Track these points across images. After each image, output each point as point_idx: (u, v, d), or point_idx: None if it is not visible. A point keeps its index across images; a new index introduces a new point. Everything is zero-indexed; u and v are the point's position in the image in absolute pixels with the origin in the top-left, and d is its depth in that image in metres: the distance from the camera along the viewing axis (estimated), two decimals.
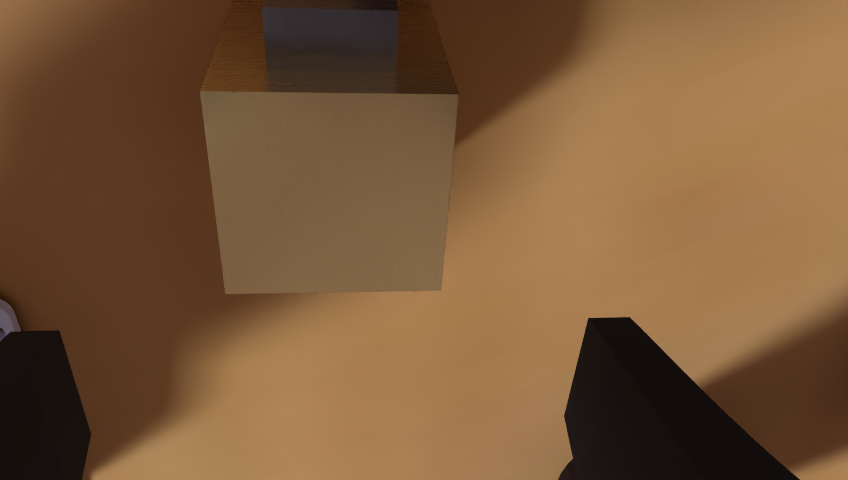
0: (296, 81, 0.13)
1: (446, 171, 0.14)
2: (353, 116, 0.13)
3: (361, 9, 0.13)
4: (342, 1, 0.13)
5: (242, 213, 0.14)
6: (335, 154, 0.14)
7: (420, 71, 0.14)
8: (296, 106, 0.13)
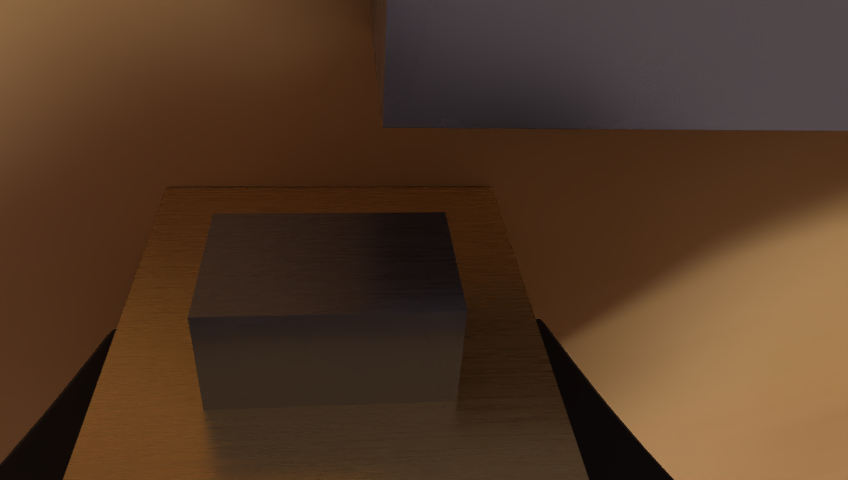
0: (261, 454, 0.07)
1: None
2: None
3: (392, 310, 0.06)
4: (353, 282, 0.07)
5: None
6: None
7: (502, 397, 0.07)
8: None
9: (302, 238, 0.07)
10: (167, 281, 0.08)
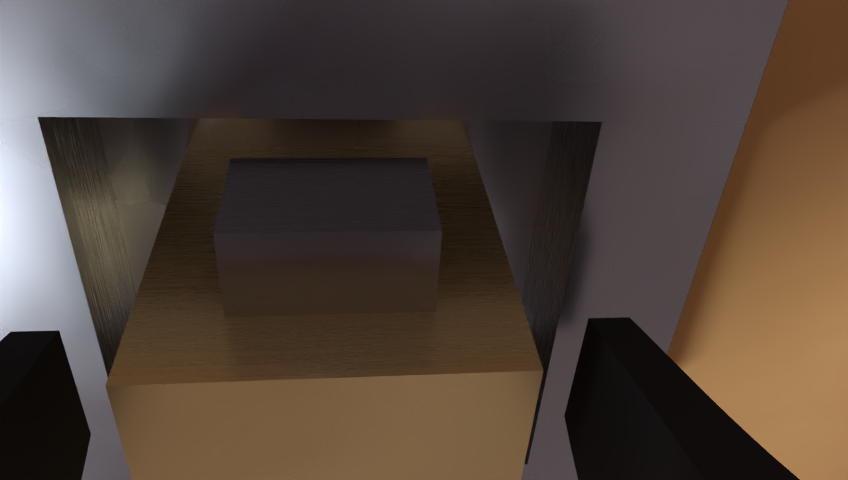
0: (272, 349, 0.08)
1: (515, 464, 0.09)
2: (367, 406, 0.08)
3: (380, 228, 0.08)
4: (348, 209, 0.08)
5: None
6: (337, 454, 0.08)
7: (474, 308, 0.09)
8: (272, 398, 0.08)
9: (306, 177, 0.09)
10: (190, 221, 0.10)
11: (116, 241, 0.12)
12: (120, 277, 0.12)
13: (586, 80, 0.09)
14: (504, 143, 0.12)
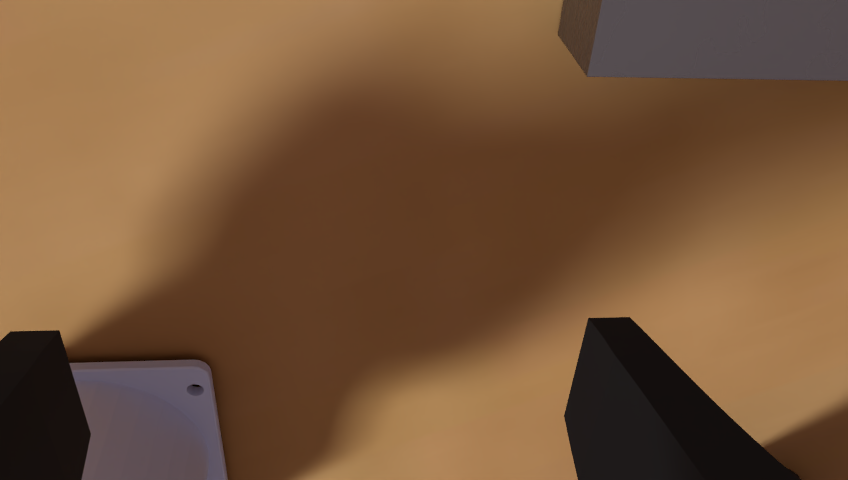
0: None
1: None
2: None
3: None
4: None
5: None
6: None
7: None
8: None
9: None
10: None
11: None
12: None
13: None
14: None
